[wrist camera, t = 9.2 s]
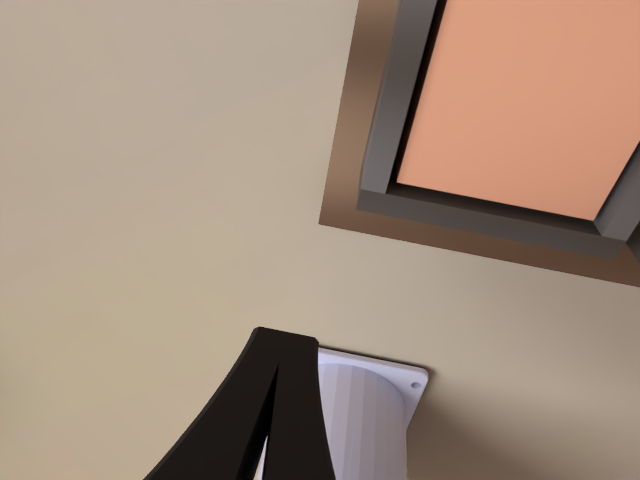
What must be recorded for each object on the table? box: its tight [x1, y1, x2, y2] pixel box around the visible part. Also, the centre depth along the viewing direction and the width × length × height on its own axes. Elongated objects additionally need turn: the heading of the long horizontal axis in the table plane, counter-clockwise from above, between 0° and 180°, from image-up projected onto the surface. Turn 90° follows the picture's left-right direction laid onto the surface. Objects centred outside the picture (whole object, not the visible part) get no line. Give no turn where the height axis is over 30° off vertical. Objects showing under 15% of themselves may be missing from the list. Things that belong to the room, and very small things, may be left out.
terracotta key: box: [396, 0, 640, 221], centre depth 15 cm, size 6×6×2 cm
